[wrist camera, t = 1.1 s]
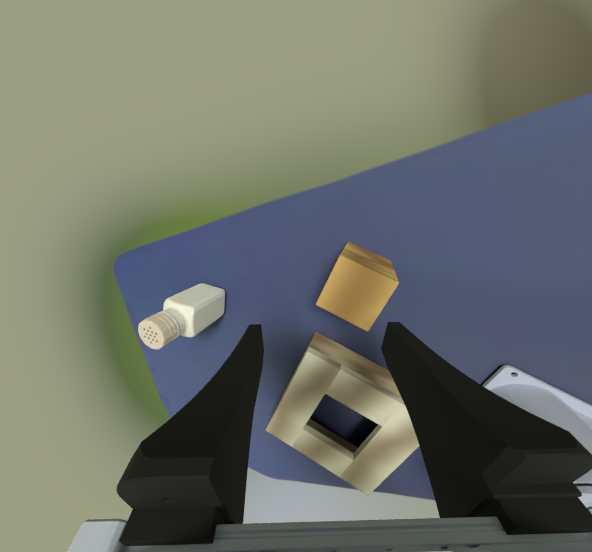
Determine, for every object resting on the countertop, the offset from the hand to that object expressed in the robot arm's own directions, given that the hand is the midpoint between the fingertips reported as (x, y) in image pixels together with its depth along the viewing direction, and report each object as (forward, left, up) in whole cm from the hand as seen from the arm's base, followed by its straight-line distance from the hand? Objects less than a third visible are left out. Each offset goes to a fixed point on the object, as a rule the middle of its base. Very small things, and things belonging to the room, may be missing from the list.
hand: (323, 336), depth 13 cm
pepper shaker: (+14, +11, -12) cm, 22 cm away
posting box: (-7, +15, -12) cm, 20 cm away
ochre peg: (-1, -1, -12) cm, 12 cm away
